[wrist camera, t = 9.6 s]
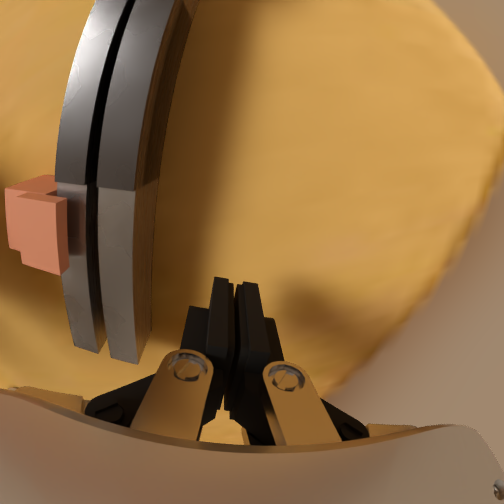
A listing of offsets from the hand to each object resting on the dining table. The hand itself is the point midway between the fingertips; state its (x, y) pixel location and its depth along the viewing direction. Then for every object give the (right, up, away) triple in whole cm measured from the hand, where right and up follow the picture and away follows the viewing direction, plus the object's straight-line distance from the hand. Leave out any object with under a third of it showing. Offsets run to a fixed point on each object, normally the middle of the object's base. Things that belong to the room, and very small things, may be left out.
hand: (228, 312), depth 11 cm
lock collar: (-9, +5, +1) cm, 11 cm away
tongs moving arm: (-4, +8, 0) cm, 9 cm away
